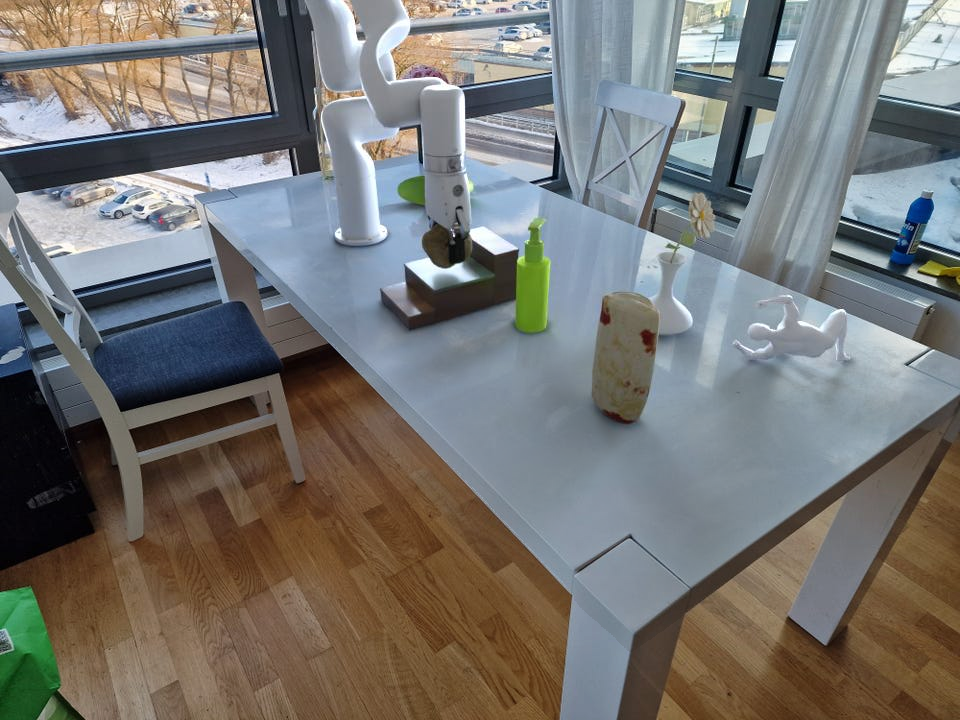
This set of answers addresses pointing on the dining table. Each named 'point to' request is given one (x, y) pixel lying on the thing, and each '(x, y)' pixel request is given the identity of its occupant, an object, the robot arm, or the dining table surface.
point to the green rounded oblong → (417, 189)
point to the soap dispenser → (532, 283)
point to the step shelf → (455, 283)
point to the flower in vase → (671, 310)
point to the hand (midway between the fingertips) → (447, 254)
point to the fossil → (442, 246)
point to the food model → (624, 355)
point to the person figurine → (797, 334)
